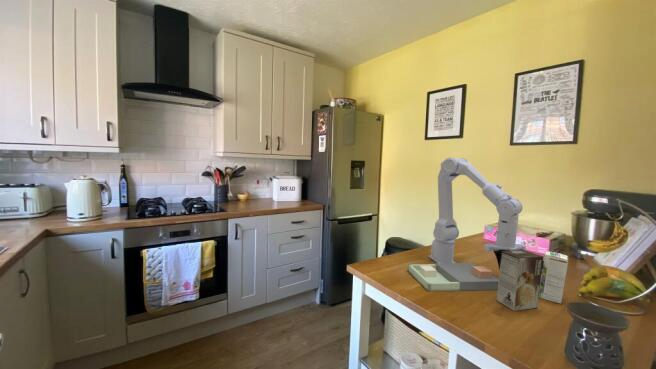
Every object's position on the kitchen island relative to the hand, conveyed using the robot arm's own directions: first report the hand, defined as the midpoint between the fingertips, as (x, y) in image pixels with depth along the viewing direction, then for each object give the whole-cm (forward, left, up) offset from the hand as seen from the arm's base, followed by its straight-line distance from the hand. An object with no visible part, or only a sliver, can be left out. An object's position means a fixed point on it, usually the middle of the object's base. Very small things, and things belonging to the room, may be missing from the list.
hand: (502, 270), depth 97 cm
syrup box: (+10, +9, -5) cm, 15 cm away
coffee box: (+13, -6, -5) cm, 16 cm away
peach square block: (0, -8, -2) cm, 8 cm away
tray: (-4, -25, -5) cm, 25 cm away
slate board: (-4, -11, -5) cm, 13 cm away
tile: (-7, -24, -2) cm, 25 cm away
